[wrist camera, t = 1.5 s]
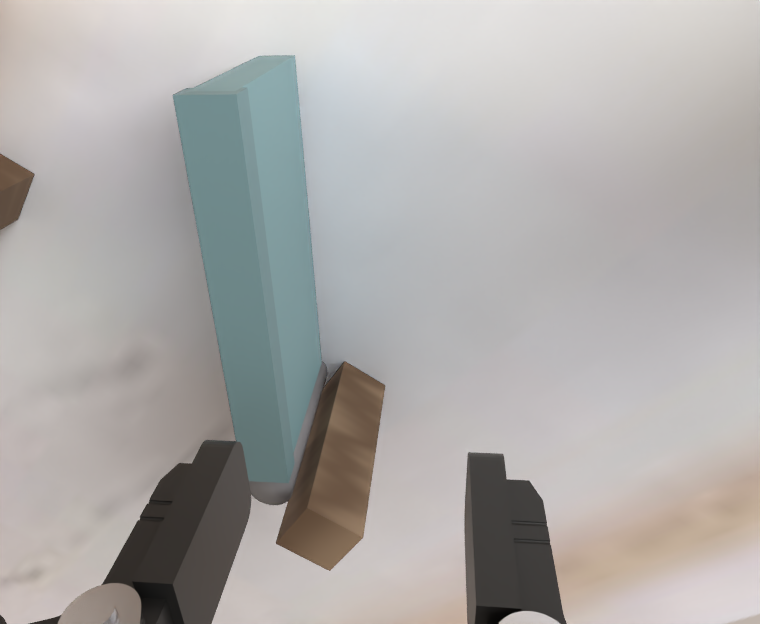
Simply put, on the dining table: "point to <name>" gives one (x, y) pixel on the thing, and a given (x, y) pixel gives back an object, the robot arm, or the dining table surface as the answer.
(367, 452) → the gate posts
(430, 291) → the dining table surface
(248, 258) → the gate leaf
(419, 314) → the dining table surface
